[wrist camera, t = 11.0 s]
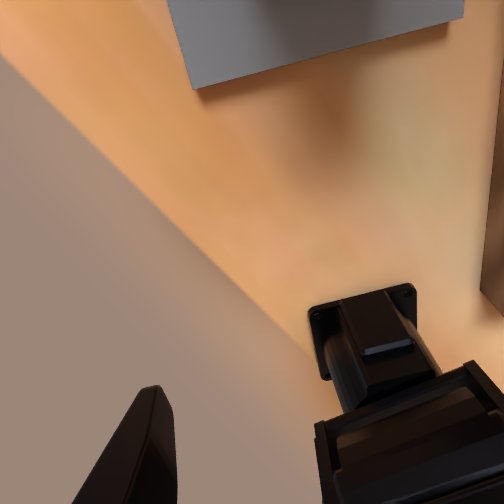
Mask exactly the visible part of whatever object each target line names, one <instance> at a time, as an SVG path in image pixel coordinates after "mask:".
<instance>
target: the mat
mask: <svg viewBox="0 0 504 504" xmlns="http://www.w3.org/2000/svg"><path fill="white" fill-rule="evenodd" d="M167 3H168V7H169V10H170V13H171V17H172V20H173V24H174V27H175V30H176V34H177V37H178V41H179V44H180V47H181V51H182V54H183V58H184V61H185V64H186V68H187V71H188V75H189V78H190V81H191V85H192V88H193V90H194V89H198V88H202V87H205V86H209V85H213V84H217V83H220V82H224V81H228V80H232V79H235V78H239V77H243V76H246V75H250V74H254V73H258V72H261V71H265V70H269V69H273V68H276V67H280V66H284V65H288V64H291V63H295V62H299V61H303V60H306V59H310V58H314V57H318V56H321V55H325V54H329V53H333V52H336V51H340V50H344V49H348V48H351V47H355V46H359V45H363V44H366V43H370V42H374V41H378V40H381V39H385V38H389V37H393V36H396V35H400V34H404V33H408V32H411V31H415V30H419V29H423V28H426V27H430V26H434V25H437V24H441V23H445V22H449V21H452V20H456V19H460V18H463V14H464V0H167Z"/></svg>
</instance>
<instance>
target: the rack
mask: <svg viewBox="0 0 504 504" xmlns="http://www.w3.org/2000/svg"><path fill="white" fill-rule="evenodd" d="M480 291H481V292H482V293H483V294H484V295H485V296H486V297H487V299H488V300H489V301H490V302H491V303H492V304H493V305H494V306H495V308H496V309H497V310H498V311H499V312H500V313H501V314H502V316H503V317H504V65H503V74H502V84H501V93H500V103H499V112H498V122H497V131H496V141H495V150H494V160H493V169H492V179H491V188H490V198H489V207H488V217H487V226H486V236H485V245H484V255H483V264H482V274H481V283H480Z"/></svg>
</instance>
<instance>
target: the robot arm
mask: <svg viewBox="0 0 504 504" xmlns="http://www.w3.org/2000/svg"><path fill="white" fill-rule="evenodd" d="M406 291H408V292H406ZM405 292H406V293H405ZM318 313H319V314H318ZM315 314H318V315H315ZM308 319H309V324H310V328H311V333H312V338H313V343H314V348H315V353H316V358H317V363H318V367H319V372H320V376H321V378H322V379H323V380H325V381H328V380H333V383H334V386H335V389H336V392H337V395H338V398H339V401H340V404H341V406H342V409H343V412H344V414H342V415H340V416H337V417H335V418H332V419H330V420H327V421H324V420H322V421H320V422H318V423H315V424H314V428H315V435H316V438H315V439H314V442H315V449H316V456H317V463H318V469H319V477H320V484H321V491H322V504H504V394H503V393H502V392H501V390H500V389H499V388H498V387H497V386H496V385H495V384H494V383H493V381H492V380H491V379H490V378H489V377H488V376H487V375H486V373H485V372H484V371H483V370H482V369H481V368H480V367H479V365H478V364H477V363H476V362H475V361H474V360H471V361H468V362H466V363H464V364H463V366H461V367H459V368H456V369H454V370H451V371H449V372H446V373H444V374H443V372H442V371H441V369H440V367H439V366H438V364H437V363H436V361H435V359H434V358H433V356H432V354H431V353H430V351H429V350H428V348H427V346H426V345H425V343H424V341H423V340H422V338H421V337H420V335H419V333H418V332H417V291H416V289H415V287H414V286H413V285H412V284H411V283H405V284H401V285H397V286H393V287H389V288H385V289H381V290H377V291H373V292H369V293H365V294H361V295H357V296H353V297H349V298H345V299H341V300H337V301H333V302H329V303H325V304H321V305H317V306H314V307H311V308H310V309H309V310H308ZM177 488H178V484H177V465H176V450H175V432H174V417H173V411H172V407H171V405H170V403H169V401H168V399H167V397H166V395H165V393H164V391H163V389H162V387H161V386H160V385H154V386H150V387H146V388H143V389H141V390H140V391H139V393H138V394H137V396H136V398H135V399H134V401H133V403H132V404H131V406H130V408H129V409H128V411H127V413H126V414H125V416H124V418H123V419H122V421H121V423H120V424H119V426H118V428H117V429H116V431H115V432H114V434H113V436H112V438H111V439H110V441H109V442H108V444H107V446H106V447H105V449H104V451H103V452H102V454H101V456H100V457H99V459H98V461H97V462H96V464H95V466H94V467H93V469H92V471H91V472H90V474H89V476H88V477H87V479H86V481H85V482H84V484H83V486H82V488H81V489H80V491H79V492H78V494H77V496H76V497H75V499H74V501H73V502H72V504H177Z"/></svg>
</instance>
